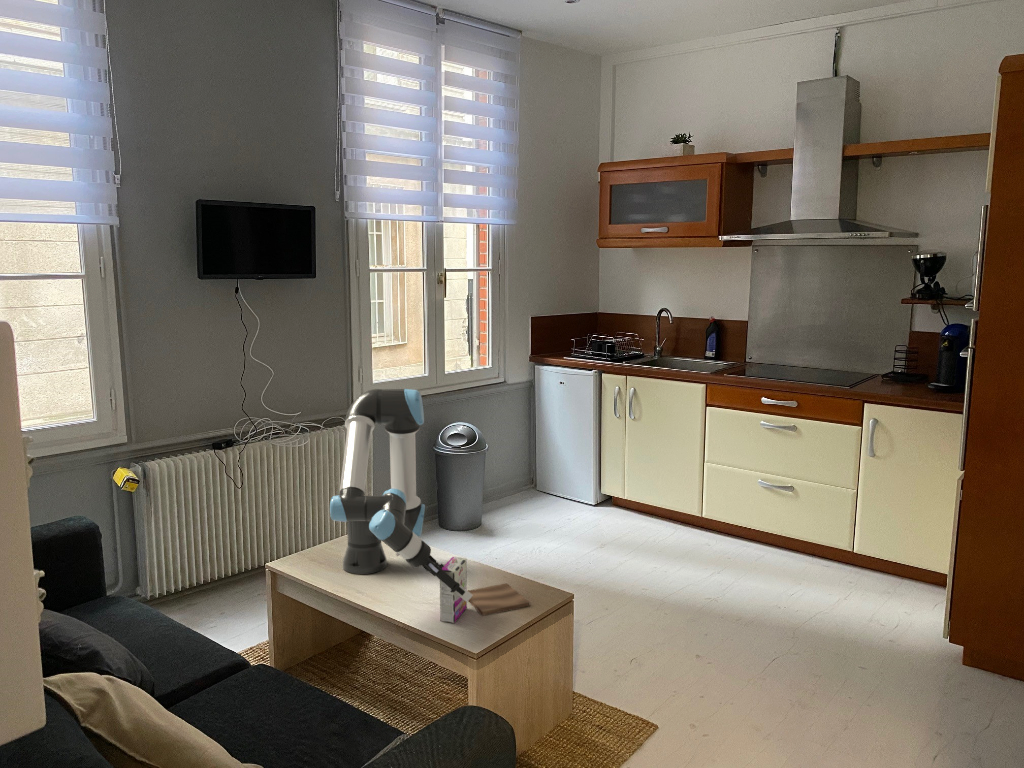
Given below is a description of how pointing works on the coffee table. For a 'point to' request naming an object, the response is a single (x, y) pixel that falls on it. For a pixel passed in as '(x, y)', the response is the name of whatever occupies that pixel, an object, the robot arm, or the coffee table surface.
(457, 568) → the candy bar box
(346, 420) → the robot arm
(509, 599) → the walnut board
